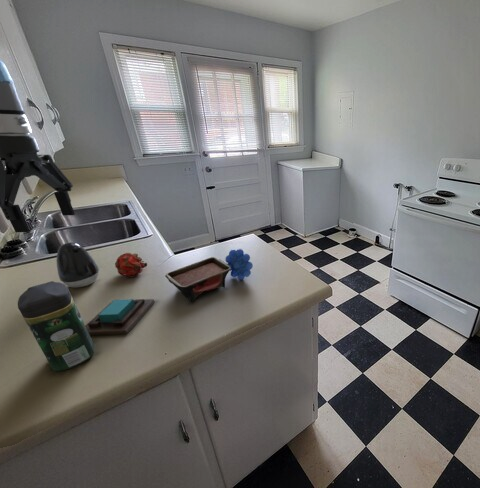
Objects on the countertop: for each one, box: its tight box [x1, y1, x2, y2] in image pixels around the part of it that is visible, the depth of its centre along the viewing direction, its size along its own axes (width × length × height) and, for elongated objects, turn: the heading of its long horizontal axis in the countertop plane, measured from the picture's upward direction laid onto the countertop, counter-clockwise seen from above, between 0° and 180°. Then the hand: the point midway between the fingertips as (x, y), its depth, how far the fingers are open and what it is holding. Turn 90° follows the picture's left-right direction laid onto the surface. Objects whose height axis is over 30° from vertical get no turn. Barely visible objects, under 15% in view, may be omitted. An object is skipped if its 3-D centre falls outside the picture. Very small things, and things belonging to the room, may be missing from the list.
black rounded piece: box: [56, 242, 100, 288], centre depth 90 cm, size 10×10×15 cm
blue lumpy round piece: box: [224, 248, 254, 281], centre depth 94 cm, size 12×7×12 cm, turn 65°
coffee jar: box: [17, 280, 95, 372], centre depth 60 cm, size 10×8×19 cm
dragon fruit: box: [114, 252, 148, 278], centre depth 98 cm, size 8×8×12 cm
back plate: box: [84, 298, 155, 336], centre depth 76 cm, size 14×12×2 cm
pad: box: [97, 298, 135, 323], centre depth 75 cm, size 7×5×3 cm
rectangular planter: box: [164, 256, 231, 304], centre depth 89 cm, size 14×18×10 cm
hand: (48, 222), depth 70 cm, fingers open, 13 cm apart
